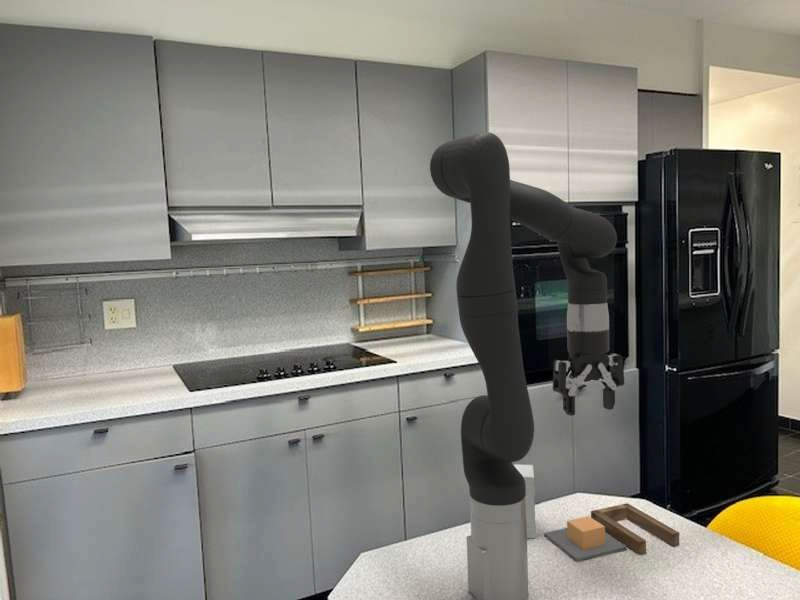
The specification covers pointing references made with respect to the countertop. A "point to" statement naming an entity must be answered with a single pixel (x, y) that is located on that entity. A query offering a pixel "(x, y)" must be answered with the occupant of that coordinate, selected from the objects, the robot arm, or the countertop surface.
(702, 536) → the countertop surface
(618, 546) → the mat
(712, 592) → the countertop surface
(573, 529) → the block
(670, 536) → the cubby
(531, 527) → the supplement box
